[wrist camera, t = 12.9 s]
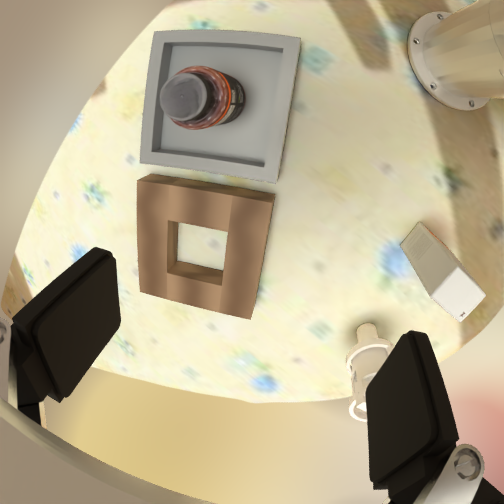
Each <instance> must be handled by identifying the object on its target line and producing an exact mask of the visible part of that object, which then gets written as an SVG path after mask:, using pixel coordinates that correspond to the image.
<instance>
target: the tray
mask: <svg viewBox="0 0 504 504" xmlns="http://www.w3.org/2000/svg"><path fill="white" fill-rule="evenodd" d="M300 47H301V38H298V37H292V36H285V35H277V34H268V33H259V32H247V31H231V30H171V31H155V32H154V35H153V41H152V47H151V53H150V60H149V67H148V74H147V82H146V90H145V99H144V109H143V120H142V132H141V148H140V163H142V164H151V165H159V166H167V167H175V168H182V169H190V170H196V171H203V172H210V173H216V174H222V175H229V176H234V177H240V178H246V179H252V180H257V181H263V182H268V183H273V184H276V182H277V180H278V177H279V171H280V165H281V160H282V154H283V148H284V142H285V137H286V131H287V125H288V119H289V113H290V107H291V102H292V96H293V90H294V84H295V78H296V72H297V66H298V59H299V53H300ZM190 66H206V67H209V68H212V69H215V70H217V71H220V72H222V73H225V74H227V75H229V76H231V77H233V78H235V79H236V80H238V81H239V83H240V84H241V85H242V86H243V89H244V91H245V97H246V101H245V106H244V108H243V111H242V112H241V113H240V115H239V116H238V117H237V118H236V119H234V120H233V121H231V122H229V123H226V124H222V125H218V126H213V127H209V128H205V129H199V130H190V129H186V128H182V127H180V126H178V125H176V124H175V123H174V122H173V121H172V120H171V119H170V118H169V117H168V116H167V115H166V114H165V113H164V111H163V110H162V108H161V105H160V92H161V89H162V87H163V85H164V84H165V82H166V81H167V80H168V79H170V78H171V77H172V76H174V75H175V74H176V73H177V72H179V71H180V70H182V69H184V68H187V67H190Z"/></svg>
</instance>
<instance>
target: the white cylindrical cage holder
mask: <svg viewBox="0 0 504 504" xmlns="http://www.w3.org/2000/svg"><path fill="white" fill-rule="evenodd" d="M356 333H357V339H358V344H356V345H355V346H354V347H352V348H351V350H350V351H349V352H348V354H347V356H346V368H347V371H348V373H349V374H350V375H351V380H352V392H353V395H352V396H351V397H350V400H349V412H350V414H351V416H352V417H354V418H355V419H357V420H359V421H365V422H367V413H364V412H362V410H364V411H366V398H365V392H366V388H367V386H368V384H369V383H370V382H371V380H372V379H373V378H374V376H375V375H376V373H377V372H378V371H379V369H380V368H381V366H382V365H383V363H384V362H385V360H386V359H387V357H388V356H389V354H390V353H391V351H392V350H393V348H394V347H395V346H394V345H393V344H392V343H391V342H390V341H388V340H385V339H381V338H378V335H377V330H376V327H375V325H373V324H371V323H365V324H362V325H361V326H359V327H358V329H357V331H356ZM351 362H352V366H351V365H350V363H351ZM366 412H367V411H366Z"/></svg>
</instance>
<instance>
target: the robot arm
mask: <svg viewBox="0 0 504 504" xmlns="http://www.w3.org/2000/svg"><path fill="white" fill-rule="evenodd" d="M438 18H439V19H438ZM413 41H415V42H416V44H415V43H414V42H413ZM407 43H408V55H409V59H410V63H411V65H412V68H413V71H414V73H415V74H416V76H417V78H418V80H419V81H420V83H421V84H422V85H423V87H424V88H425V89H426V90H427V91H428V92H429V93H430V94H431V96H433V97H434V98H435V99H436V100H438V101H439V102H440V103H442V104H444V105H446V106H448V107H451V108H454V109H457V110H475V109H479V108H480V107H482V106H484V105H485V104H486V103H487V102H488V101H490V99H491V98H503V99H504V0H478V1H476V2H474V3H472V4H470V5H468V6H466V7H464V8H463V9H461V10H459V11H457V12H455V13H454V14H452V13H448V12H431V13H427V14H426V15H424V16H422V17H420V18H419V19H418V20H417V21H416V22H415V23H414V25H413V26H412V28H411V30H410V32H409V36H408V42H407ZM430 85H432V89H431V87H430ZM469 103H470V105H469ZM12 320H13V322H14V323H13V324H12V325H11V326H10V325H9V323H8V322H7V321H6V320H5V319H3V318H0V504H215V503H211V502H208V501H204V500H200V499H197V498H193V497H190V496H186V495H184V494H180V493H177V492H174V491H171V490H168V489H166V488H163V487H160V486H157V485H155V484H152V483H149V482H147V481H144V480H142V479H139V478H137V477H135V476H132V475H130V474H128V473H125V472H123V471H121V470H119V469H117V468H114V467H112V466H110V465H108V464H106V463H104V462H102V461H100V460H98V459H96V458H94V457H92V456H90V455H89V454H87V453H85V452H83V451H81V450H79V449H78V448H76V447H74V446H72V445H71V444H69V443H67V442H66V441H64V440H62V439H61V438H59V437H57V436H56V435H54V434H53V433H51V432H49V431H48V430H47V425H46V418H45V409H44V399H45V397H46V396H47V395H48V396H49V397H51V398H52V399H54V400H56V401H57V402H59V403H60V402H61V401H62V400H63V398H64V397H65V398H66V397H68V396H70V394H71V393H72V392H73V390H74V389H75V387H76V386H77V385H78V383H79V382H80V380H81V379H82V377H83V376H84V375H85V373H86V372H87V370H88V369H89V368H90V366H91V365H92V364H93V362H94V361H95V359H96V358H97V357H98V355H99V354H100V353H101V351H102V350H103V349H104V347H105V346H106V345H107V343H108V342H109V341H110V339H111V338H112V337H113V335H114V334H115V333H116V331H117V330H118V328H119V326H120V323H121V316H120V306H119V296H118V284H117V269H116V259H115V258H114V257H113V255H112V253H111V252H110V251H107V250H104V249H101V248H98V247H94V248H93V249H91V250H90V251H89V252H87V253H86V254H85V255H84V256H82V257H81V258H80V259H79V260H77V261H76V262H75V263H74V264H73V265H71V266H70V267H69V268H68V269H67V270H65V271H64V272H63V273H62V274H61V275H59V276H58V277H57V278H56V279H55V280H53V281H52V282H51V283H50V284H49V285H48V286H47V287H45V288H44V289H43V290H42V291H41V292H40V293H39V294H38V295H36V296H35V297H34V298H33V299H32V300H31V301H30V302H29V303H28V304H26V305H25V306H24V307H23V308H22V309H21V310H20V311H19V312H18V313H17V314H16V315H15V316H14V317H13V318H12ZM365 398H366V411H367V425H368V441H369V471H370V472H369V475H370V480H371V482H373V485H374V486H373V489H374V490H377V489H378V490H381V489H388V495H389V496H388V497H387V498H386V500H385V501H384V502H383V503H382V504H504V495H503V494H502V493H501V492H499V491H498V490H497V489H496V488H495V487H494V486H492V485H491V484H490V483H489V482H488V481H487V480H486V479H484V478H483V473H484V460H483V457H482V456H481V453H480V452H479V451H478V450H477V449H476V448H475V447H473V446H472V445H469V444H461V445H459V446H457V447H456V441H458V440H459V436H458V432H457V428H456V424H455V420H454V416H453V412H452V408H451V405H450V401H449V398H448V394H447V391H446V388H445V385H444V381H443V378H442V375H441V372H440V369H439V366H438V363H437V360H436V357H435V354H434V352H433V349H432V346H431V343H430V341H429V338H428V336H427V334H426V333H422V332H417V331H412V330H411V331H409V332H407V334H403V335H402V336H401V337H400V339H399V341H398V342H397V344H396V345H395V347H394V348H393V350H392V351H391V353H390V354H389V356H388V357H387V359H386V360H385V362H384V363H383V365H382V366H381V368H380V369H379V371H378V372H377V373H376V375H375V376H374V378H373V379H372V380H371V382H370V383H369V384H368V386H367V388H366V392H365Z"/></svg>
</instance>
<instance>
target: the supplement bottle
mask: <svg viewBox="0 0 504 504" xmlns="http://www.w3.org/2000/svg"><path fill="white" fill-rule="evenodd" d="M245 101H246V97H245V91H244V89H243V86H242V85H241V84H240V83H239V81H238V80H236V79H235V78H233V77H231V76H229V75H227V74H225V73H222V72H220V71H217V70H215V69H212V68H209V67H206V66H190V67H187V68H184V69H182V70H180V71H179V72H177V73H176V74H175V75H174V76H172V77H171V78H170V79H168V80H167V81H166V82H165V84H164V85H163V87H162V89H161V92H160V105H161V108H162V110H163V111H164V113H165V114H166V115H167V116H168V117H169V118H170V119H171V120H172V121H173V122H174V123H175V124H176V125H178V126H180V127H182V128H186V129H190V130H199V129H205V128H209V127H213V126H218V125H222V124H226V123H229V122H231V121H233V120H234V119H236V118H237V117H238V116H239V115H240V113H241V112H242V111H243V108H244V106H245Z"/></svg>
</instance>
